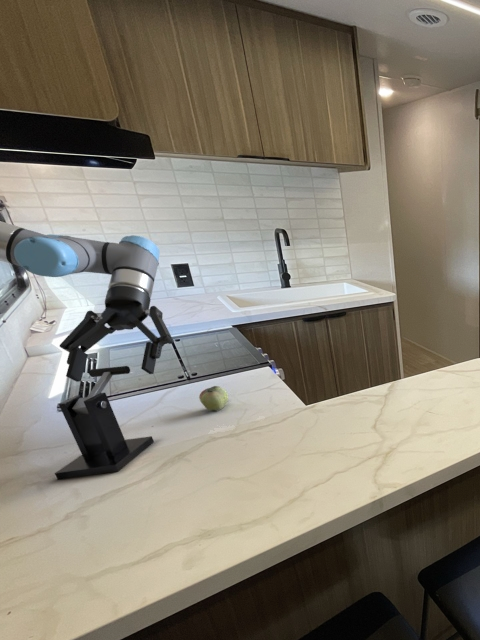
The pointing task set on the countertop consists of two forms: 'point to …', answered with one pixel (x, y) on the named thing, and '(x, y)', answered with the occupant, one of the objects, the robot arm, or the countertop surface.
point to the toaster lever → (99, 385)
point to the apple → (214, 398)
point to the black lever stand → (98, 439)
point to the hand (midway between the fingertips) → (110, 375)
